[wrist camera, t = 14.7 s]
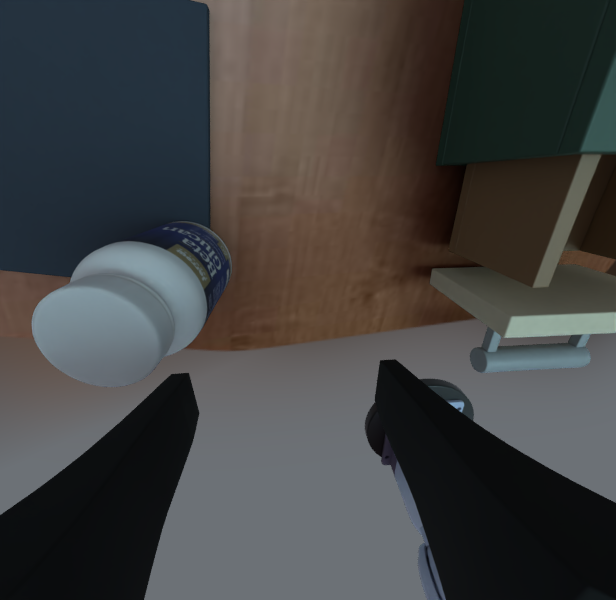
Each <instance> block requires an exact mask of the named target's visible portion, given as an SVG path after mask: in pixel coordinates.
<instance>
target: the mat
mask: <svg viewBox="0 0 616 600" xmlns="http://www.w3.org/2000/svg"><path fill="white" fill-rule="evenodd" d="M178 221H188V222H193V223H197V224H200V225H203V226H205V227H207V228H208V229H210V58H209V9H208V6H207V5H206V4H204V3H199V2H195V1H191V0H0V270H5V271H15V272H25V273H35V274H45V275H55V276H64V277H72V274H73V272H74V271H75V269H76V267H77V266H78V265H79V263H80V262H81V261H82V260H83V259H84V258H85V257H86V256H88V255H89V254H90V253H92V252H94V251H95V250H98V249H100V248H102V247H104V246H106V245H109V244H111V243H115V242H117V241H120V240H123V239H126V238H129V237H132V236H135V235H137V234H140V233H143V232H146V231H149V230H151V229H154V228H157V227H160V226H162V225H165V224H168V223H172V222H178Z"/></svg>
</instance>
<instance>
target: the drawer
mask: <svg viewBox="0 0 616 600" xmlns="http://www.w3.org/2000/svg"><path fill="white" fill-rule="evenodd" d="M575 250H580V251H583V252H588V253H592V254H596V255H600V256H604V257H608V258H612V259H616V154H573V155H565V156H553V157H541V158H530V159H518V160H506V161H494V162H483V163H471V164H467V167H466V172H465V176H464V181H463V185H462V190H461V195H460V199H459V204H458V208H457V213H456V217H455V222H454V227H453V231H452V236H451V240H450V245H449V249H448V251H450V252H453V253H455V254H457V255H459V256H461V257H464V258H466V259H468V260H471V261H473V262H475V263H477V264H480V265H482V266H484V267H465V268H433V269H432V273H431V278H430V285H432V286H433V287H435V288H436V289H437V290H439V291H440V292H441V293H443V294H444V295H446V296H447V297H448V298H450V299H451V300H452V301H454V302H455V303H456V304H458V305H459V306H461V307H462V308H463V309H465V310H466V311H467V312H469V313H470V314H472V315H473V316H474V317H476V318H477V319H478V320H480V321H481V322H482V323H484V324H486V325H487V326H488V328H487V332H486V334H485V338H484V341H483V344H482V347H477V348H474V349H473V350H472V351H471V353H470V361H471V364H472V366H473V367H474V369H475V370H476V371H478V372H480V373H485V372H501V371H520V370H538V369H554V368H555V369H556V368H573V367H584V366H586V365H587V364H588V363H589V362H590V358H591V357H590V353H589V351H588V350H587V348H586V347H585V344H586V342H587V341H588V339H589V337H590V335H591V334H601V333H616V276H613V275H610V274H606V273H603V272H600V271H596V270H593V269H589V268H586V267H583V266H579V265H576V264H568V265H557V264H558V262H559V259H560V257H561V254H562V252H563V251H575ZM559 335H571V337H570V339H569V341H568V343H558V344H538V345H518V346H498V344H499V341H500V338H501V336H502V337H503V338H517V337H537V336H559Z"/></svg>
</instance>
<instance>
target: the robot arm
mask: <svg viewBox="0 0 616 600" xmlns="http://www.w3.org/2000/svg"><path fill="white" fill-rule="evenodd" d="M375 402H376V406H377V409H378V413H379V416H380V419H381V422H382V426H383V428H384V430H385V433H386V434H385V440H384V446H383V452H382V458H381V462H382V464H383V465H391V467H392V470H393V473H394V476H395V479H396V481H397V484H398V487H399V490H400V492H401V495H402V498H403V500H404V503H405V506H406V509H407V512H408V514H409V517H410V519H411V521H412V523H413V525H414V526H415V528H416V529H417V531H418V532H419V533H420V534H421V535H422V537H423V539H424V542H425V543H423V544H422V545H420V547H419V557H418V568H419V574H420V579H421V582H422V586H423V589H424V592H425V595H426V598H427V600H616V503H615V502H613V501H611V500H609V499H607V498H605V497H603V496H601V495H599V494H597V493H595V492H593V491H591V490H589V489H587V488H585V487H583V486H581V485H579V484H577V483H575V482H573V481H571V480H570V479H568V478H566V477H564V476H562V475H560V474H559V473H557V472H555V471H553V470H551V469H549V468H548V467H545V466H544V465H542V464H541V463H539V462H537V461H535V460H534V459H532V458H530V457H529V456H527V455H525V454H523V453H521V452H520V451H518V450H517V449H515V448H513V447H512V446H510V445H508V444H507V443H505V442H504V441H502V440H500V439H499V438H497V437H496V436H494V435H493V434H491V433H490V432H488V431H487V430H485V429H484V428H482V427H481V426H479V425H478V424H476V423H475V422H474V421H472V420H471V419H469V418H468V417H467V416H465V415H464V414H463V413H462V410H463V407H464V402H463V401H462V400H444V399H443V398H441V397H440V396H439V395H438V394H436V393H435V392H434V391H433V390H431V389H430V388H429V387H428V386H427V385H425V384H424V383H423V382H422V381H421V380H419V379H418V378H417V377H416V376H415V375H413V374H412V373H411V372H410V371H409V370H408V369H406V368H405V367H404V366H403V365H402V364H400V363H399V362H398V361H397V360H381V361H380V365H379V373H378V380H377V387H376V394H375ZM198 417H199V410H198V406H197V402H196V399H195V395H194V391H193V388H192V383H191V380H190V376H189V373H181V374H171V375H170V376H169V377H168V378H167V379H166V380H165V381H164V382H163V383H161V384H160V385H159V386H158V387H157V388H156V389H155V390H154V391H153V392H152V393H151V394H150V395H149V396H148V397H147V398H146V399H145V400H144V401H142V402H141V403H140V404H139V405H138V406H137V407H136V408H135V409H134V410H133V411H132V412H131V413H130V414H129V415H127V416H126V417H125V418H124V419H123V420H122V421H121V422H120V423H119V424H117V425H116V426H115V427H114V428H113V429H112V430H110V431H109V432H108V433H107V434H106V435H105V436H104V437H102V438H101V439H100V440H99V441H98V442H97V443H95V444H94V445H93V446H92V447H91V448H90V449H89V450H87V451H86V452H85V453H84V454H83V455H81V456H80V457H79V458H77V459H76V460H75V461H74V462H72V463H71V464H70V465H69V466H67V467H66V468H65V469H63V470H62V471H61V472H59V473H58V474H57V475H56V476H54V477H53V478H52V479H50V480H49V481H48V482H46V483H45V484H44V485H42V486H41V487H40V488H38V489H37V490H36V491H34V492H33V493H31V494H30V495H28V496H27V497H26V498H24V499H23V500H21V501H20V502H18V503H17V504H16V505H14V506H13V507H12V508H10V509H8V510H7V511H6V512H4V513H3V514H1V515H0V600H144V597H145V593H146V589H147V585H148V581H149V577H150V573H151V569H152V566H153V562H154V558H155V554H156V550H157V546H158V543H159V539H160V535H161V532H162V528H163V525H164V522H165V519H166V516H167V512H168V510H169V507H170V504H171V501H172V498H173V496H174V493H175V490H176V487H177V485H178V482H179V479H180V476H181V474H182V471H183V468H184V465H185V462H186V460H187V457H188V454H189V451H190V448H191V445H192V442H193V439H194V434H195V430H196V426H197V421H198Z"/></svg>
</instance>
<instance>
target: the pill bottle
mask: <svg viewBox="0 0 616 600" xmlns="http://www.w3.org/2000/svg"><path fill="white" fill-rule="evenodd" d="M231 272H232V262H231V257H230V253H229V251H228V249H227V247H226V245H225V244H224V242H223V241H222V240H221V238H220V237H219V236H218V235H217V234H215V233H214V232H213V231H211V230H210V229H208V228H207V227H205V226H203V225H200V224H197V223H193V222H188V221H178V222H172V223H168V224H165V225H162V226H160V227H157V228H154V229H151V230H149V231H146V232H143V233H140V234H137V235H135V236H132V237H129V238H126V239H123V240H120V241H117V242H115V243H111V244H109V245H106V246H104V247H102V248H100V249H98V250H95V251H94V252H92V253H90V254H89V255H88V256H86V257H85V258H84V259H83V260H82V261H81V262H80V263H79V265H78V266H77V267H76V269H75V271H74V272H73V274H72V277H71V280H70V283H69V284H67V285H65V286H63V287H61V288H59V289H57V290H55V291H53V292H51V293H50V294H48V295H47V296H46V297H44V298H43V299H42V300H41V301H40V302H39V304H38V305H37V306H36V308H35V311H34V313H33V316H32V332H33V336H34V339H35V342H36V344H37V346H38V347H39V349H40V350H41V352H42V354H43V355H44V356H45V357H46V358H47V359H48V361H49V362H50V363H51V364H53V365H54V366H55V367H56V368H57V369H59V370H60V371H62V372H63V373H65V374H67V375H68V376H70V377H72V378H74V379H76V380H79V381H81V382H84V383H87V384H92V385H95V386H103V387H121V386H127V385H130V384H133V383H136V382H138V381H140V380H142V379H144V378H145V377H147V376H148V375H149V374H150V373H151V372H152V371H153V370H154V369H155V368H156V366H157V365H158V364H159V362H160V361H161V360H162V358H163V357H165V356H168V355H171V354H174V353H176V352H178V351H180V350H182V349H183V348H185V347H186V346H188V345H189V344H190V343H191V342H192V341H193V340H194V339H195V338H196V336H197V335H198V334H199V332H200V331H201V329H202V328H203V326H204V324H205V323H206V321H207V319H208V317H209V315H210V314H211V312H212V310H213V308H214V307H215V305H216V303H217V302H218V300H219V298H220V296H221V295H222V293H223V291H224V290H225V288H226V286H227V284H228V282H229V280H230V276H231Z"/></svg>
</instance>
